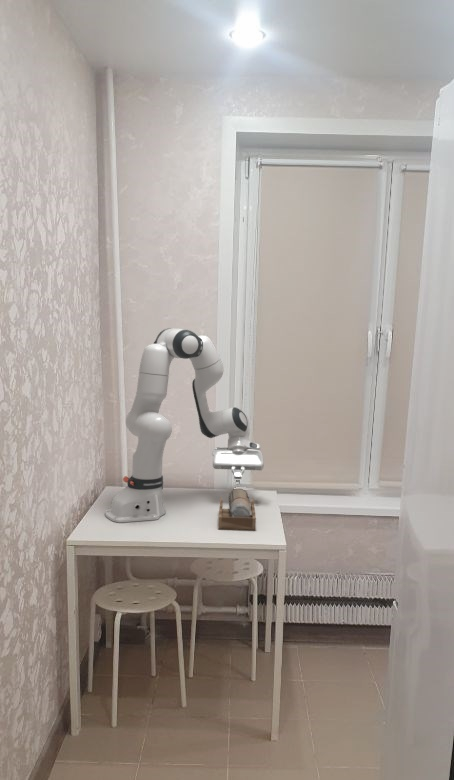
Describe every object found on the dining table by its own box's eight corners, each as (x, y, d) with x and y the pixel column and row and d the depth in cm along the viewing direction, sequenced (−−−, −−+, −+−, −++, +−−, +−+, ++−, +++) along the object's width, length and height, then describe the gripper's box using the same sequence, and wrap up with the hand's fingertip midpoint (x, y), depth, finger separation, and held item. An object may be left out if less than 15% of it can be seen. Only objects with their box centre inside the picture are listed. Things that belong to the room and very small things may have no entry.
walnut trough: (219, 510, 234) (220, 498, 233) (253, 511, 234) (253, 499, 233) (218, 529, 212) (218, 517, 211) (255, 530, 212) (255, 518, 211)
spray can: (246, 511, 235) (250, 527, 215) (225, 506, 235) (228, 522, 215) (251, 490, 235) (256, 504, 215) (230, 486, 234) (233, 499, 214)
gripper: (212, 443, 242) (211, 473, 233) (263, 444, 241) (264, 474, 233) (212, 451, 247) (211, 481, 238) (262, 453, 246) (263, 482, 238)
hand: (237, 478), depth 235 cm, fingers closed
